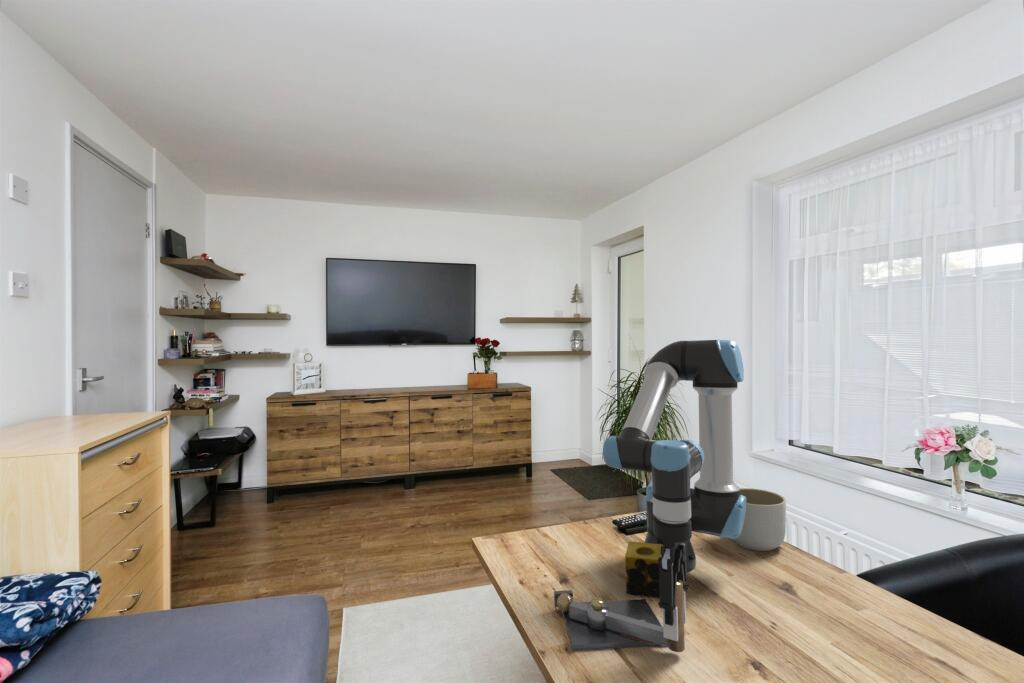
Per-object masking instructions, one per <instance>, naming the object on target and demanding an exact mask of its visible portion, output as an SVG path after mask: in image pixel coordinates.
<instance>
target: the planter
mask: <svg viewBox="0 0 1024 683" xmlns="http://www.w3.org/2000/svg"><path fill="white" fill-rule="evenodd" d="M739 489H740V495H743V496H745V497H746V513H745V520H744V525H743V529H742V532H741V534H740V536H739V537H738V538H736V539H732V540H733V541H734V542H736V543H737V544H738V545H739V546H741V547H742V548H745V549H749V550H753V551H757V552H768V551H769V552H770V551H773V550H775V549H777V548H778V547H780V546H781V545H782V544H783V542H784V540H785V539H786V538H785V537H786V532H787V531H786V526H787V519H786V518H787V500H786V498H785V497H784V496H783V495H781V494H779V493H777V492H773V491H770V490H766V489H760V488H751V487H750V488H749V487H739Z"/></svg>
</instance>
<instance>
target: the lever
mask: <svg viewBox="0 0 1024 683" xmlns="http://www.w3.org/2000/svg"><path fill="white" fill-rule="evenodd" d="M683 591H684V589H683V582H682V581H681V580H679V579H677V586H676V607H677V612H678V641H674V640H671V639H667V638H664V636H663V626H662V627H661V626H657V625H654V624H651V623H647V622H644V621H640V620H637V619H633V618H630V617H626V616H623V615H619V614H616V613H612V612H609V608H608V606H607V605H605V604H603V605H604V608H603V609H601V610H595V609H593V608H592V603H590V604H588V605H587V604H584V603H580V602H579V601H576V600H573V602H572V603H571V604H570V605H569V614H570V618H572V619H575V620H579V621H582V622H585V623H588V625H589V626H590V627H591V628H593V629H598V630H602V629H605V628H607V629H611V630H614V631H617V632H620V633H624V634H627V635H630V636H633V637H637V638H640V639H643V640H646V641H650V642H653V643H656V644H659V645H663V646H662V647H666V648H668V649H669V650H670V651H672V652H674V653H681V652H684V651H685V649H686V648H685V647H686V646H685V642H686V641H685V623H684V607H683Z"/></svg>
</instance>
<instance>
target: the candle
mask: <svg viewBox="0 0 1024 683" xmlns="http://www.w3.org/2000/svg"><path fill="white" fill-rule="evenodd" d="M661 546H663V544H652V543H644V542H641V541H628V543H627V548H626V550H625V555H624V560H625V561H624V562H625V570H626V571H625V572H626V573H625V575H626V577H625V578H626V581H625V587H626V590H625V592H626V594H627V595H632V596H639V597H646V598H652V599H653V598H655V599H658V600H659V565H658V558H659V557H662V555H661Z"/></svg>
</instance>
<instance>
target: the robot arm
mask: <svg viewBox="0 0 1024 683" xmlns="http://www.w3.org/2000/svg"><path fill="white" fill-rule="evenodd" d="M743 363H744V362H743V358H742V354H741V350H740V347H739V345H738V344H737V342H735V341H734V340H730V339H720V338H719V339H718V338H717V339H705V340H702V339H701V340H678V341H673V342H672V343H669V344H667V345H666V346H663V347H662V348H661V349H660V350H658V351H656V353H655V354H653V356H652V357H651V358H650V360H649V361H648V362H647V365H645V369H644V371H643V377H644V379H643V382H642V385H641V386H640V389H639V391H638V393H637V395H636V398H635V400H634V401H633V404H632V407H631V408H630V411H629V413H628V415H627V418H626V419H625V422H624V425H623V426H622V429H621V431H620V433H619V435H618V436H617V435H609V436H608V437H606V438H605V440H604V442H603V445H602V457H603V460H604V463H605V464H606V465H607V466H608V467H610V468H615V469H619V470H627V471H634V472H635V471H637V472H644V473H651V483H649V484H648V485H647V486H646V488H645V489H646V490H645V491H646V492H645V494H646V496H645V501H646V504H645V505H646V531H647V532H646V536H645V538H644V542H643V543H652V544H663V546H661V555H662V557H659V558H658V565H659V599H658V600H659V601H658V602H657V605H658V607H659V608H660V609H662V627H663V636H664V638H667V639H671V640H674V641H678V612H677V607H676V586H677V579H679V580H681V581H682V582H683V607H684V624H686V622H687V611H686V610H687V608H686V606H687V605H686V591H689V590H690V585H689V584H686V583H687V582H688V580H689V579H688V572H690V571H692V570H693V569H695V568H696V566H697V560H696V558H697V557H696V553H695V550H694V548H693V545H692V542H691V539H692V536H693V535H692V534H693V533H692V532H694V533H700V534H705V535H709V536H715V537H719V538H720V539H721V538H726V539H731V540H733V539H736V538H738V537H739V536H740V534H741V532H742V529H743V525H744V520H745V513H746V497H745V496H743V495H740V489H739V488H740V486H739V485H737V483H735V482H734V454H733V452H734V450H733V449H734V448H733V406H732V405H733V399H732V398H733V397H732V395H733V393H735V391H736V390H738V389H739V388H738V385H739V384H738V383H742V382H743V381H744V379H745V375H744V373H745V370H744V364H743ZM679 381H686V382H687V381H690V382H692V389H694V391H696V392H697V394H698V440H699V441H698V442H699V443H697V442H695V441H694V440H691V439H681V440H675V439H674V440H673V439H672V440H671V439H664V440H662V439H661V440H656V439H653V437H654V434H655V431H656V429H657V426H658V424H659V421H660V419H661V417H662V416H661V415H662V413H663V410H664V409H665V405H666V403H667V400H668V398H669V395H670V392H671V390H672V389H673V388H675V387H676V386H677V384H678V382H679ZM698 473H699V478H698V480H696V481H695V482H694V483H693V484H694V485H693V486H694V487H692V488H691V478H693V476H695V475H696V474H698Z"/></svg>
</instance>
